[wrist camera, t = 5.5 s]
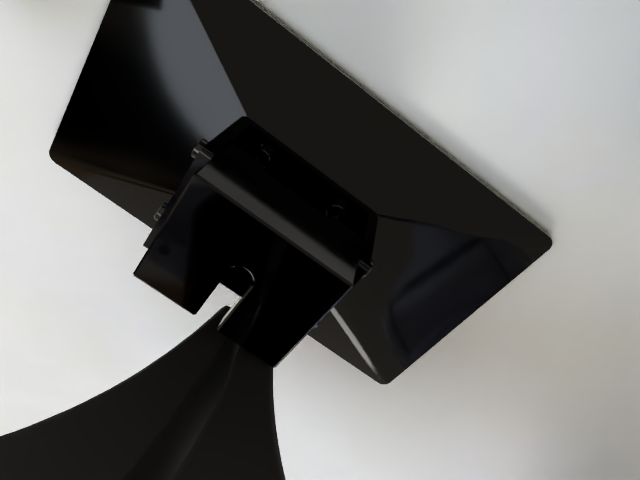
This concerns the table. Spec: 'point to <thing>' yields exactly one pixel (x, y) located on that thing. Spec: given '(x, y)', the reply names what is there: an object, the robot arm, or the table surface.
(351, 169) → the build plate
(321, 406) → the table surface
